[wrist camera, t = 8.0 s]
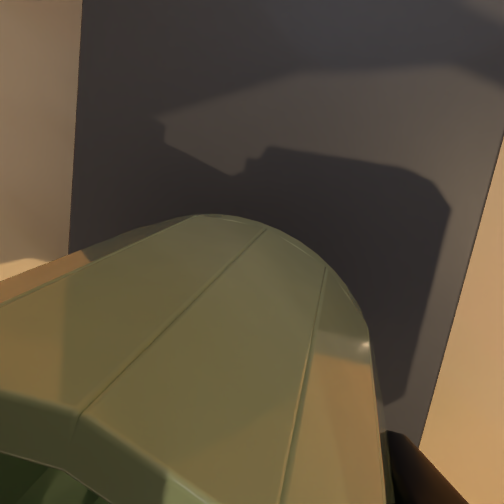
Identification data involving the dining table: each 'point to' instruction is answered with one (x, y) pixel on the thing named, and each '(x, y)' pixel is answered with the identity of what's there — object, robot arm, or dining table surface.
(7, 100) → the dining table surface
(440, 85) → the box
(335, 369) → the cup
